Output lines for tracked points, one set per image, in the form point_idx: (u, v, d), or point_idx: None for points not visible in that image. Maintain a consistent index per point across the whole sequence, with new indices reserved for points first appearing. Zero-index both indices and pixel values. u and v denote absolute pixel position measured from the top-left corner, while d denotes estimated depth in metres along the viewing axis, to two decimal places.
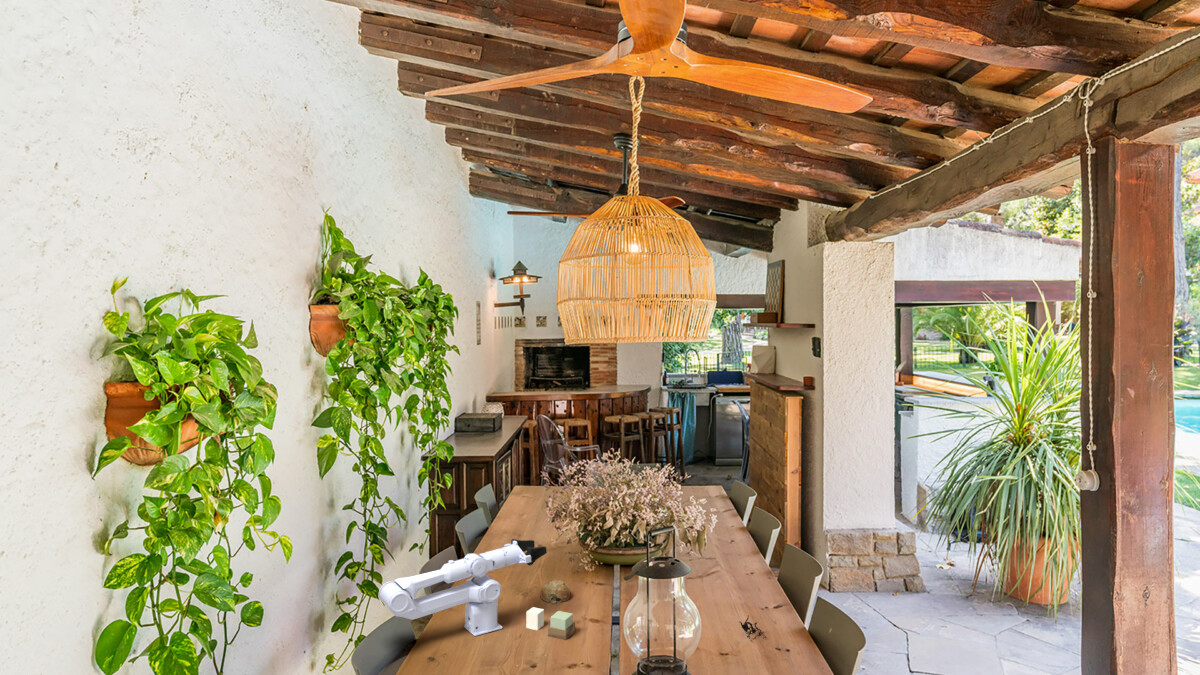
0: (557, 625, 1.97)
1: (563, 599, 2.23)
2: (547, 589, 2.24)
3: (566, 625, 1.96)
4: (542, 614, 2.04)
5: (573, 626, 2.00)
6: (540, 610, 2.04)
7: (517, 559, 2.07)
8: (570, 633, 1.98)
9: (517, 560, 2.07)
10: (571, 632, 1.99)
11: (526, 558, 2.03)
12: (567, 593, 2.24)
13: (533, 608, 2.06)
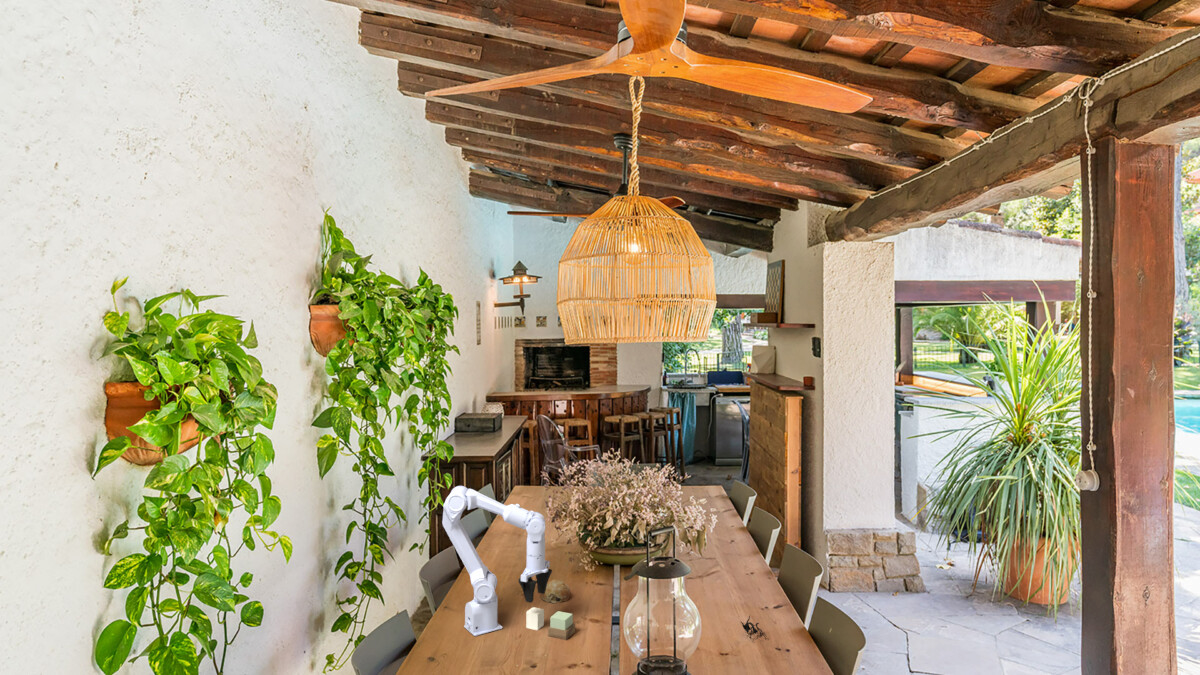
0: (557, 625, 1.97)
1: (563, 599, 2.23)
2: (547, 589, 2.24)
3: (566, 626, 1.96)
4: (542, 614, 2.04)
5: (573, 626, 2.00)
6: (540, 610, 2.04)
7: (528, 568, 2.02)
8: (570, 633, 1.98)
9: (527, 568, 2.03)
10: (571, 632, 1.99)
11: (525, 576, 1.98)
12: (567, 593, 2.24)
13: (533, 608, 2.06)
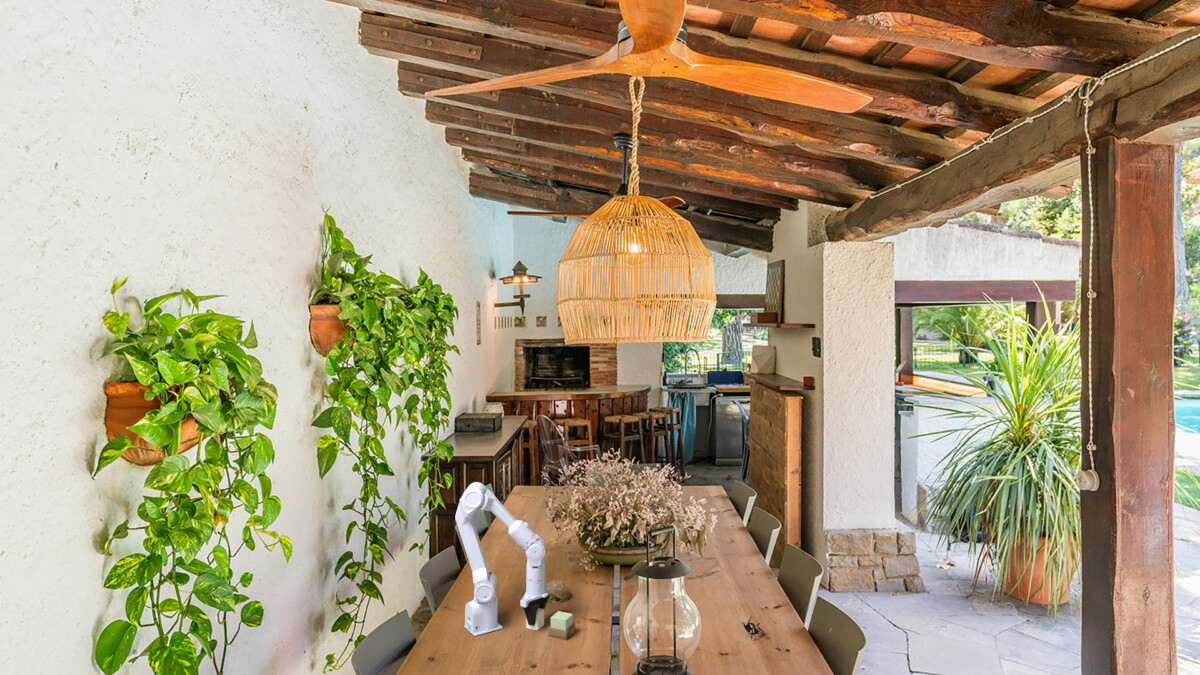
0: (557, 625, 1.97)
1: (563, 599, 2.23)
2: None
3: (566, 626, 1.96)
4: (542, 614, 2.04)
5: (573, 626, 2.00)
6: (540, 610, 2.04)
7: (528, 593, 2.02)
8: (570, 633, 1.98)
9: (527, 593, 2.03)
10: (571, 632, 1.99)
11: (524, 601, 1.98)
12: (567, 593, 2.24)
13: None
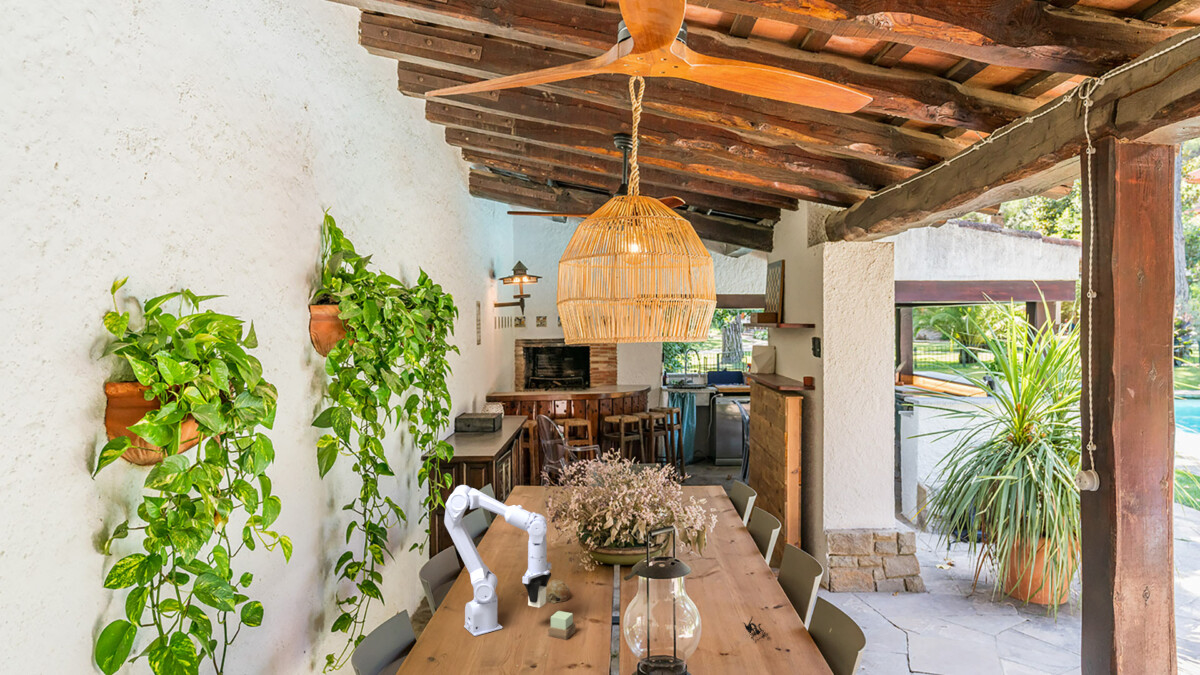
0: (557, 625, 1.97)
1: (563, 599, 2.23)
2: (546, 588, 2.24)
3: (566, 625, 1.97)
4: (544, 591, 2.04)
5: (574, 626, 2.00)
6: (542, 587, 2.04)
7: (530, 570, 2.02)
8: (571, 633, 1.98)
9: (529, 570, 2.02)
10: (572, 632, 1.99)
11: (526, 578, 1.97)
12: (567, 593, 2.25)
13: None
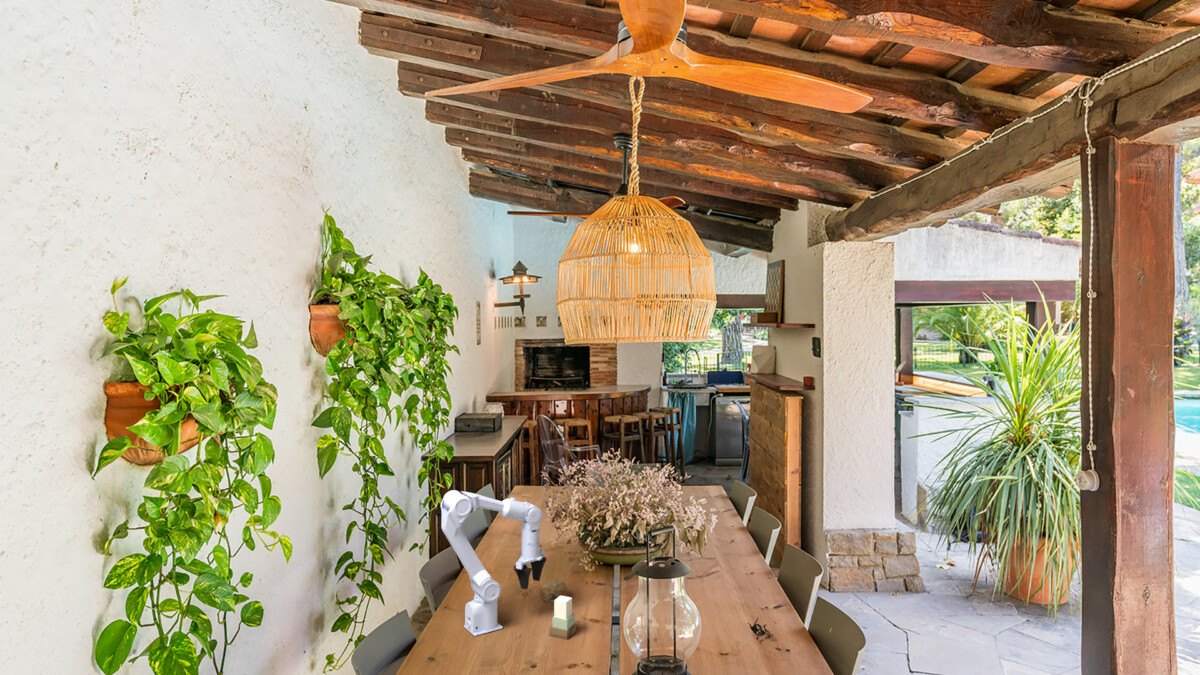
0: (559, 625, 1.97)
1: None
2: (546, 588, 2.24)
3: (568, 625, 1.97)
4: (570, 602, 2.00)
5: (574, 626, 2.00)
6: (568, 598, 2.00)
7: (523, 556, 2.09)
8: (571, 633, 1.98)
9: (522, 556, 2.09)
10: (572, 632, 1.99)
11: (520, 564, 2.04)
12: (566, 592, 2.25)
13: (561, 596, 2.01)
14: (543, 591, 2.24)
